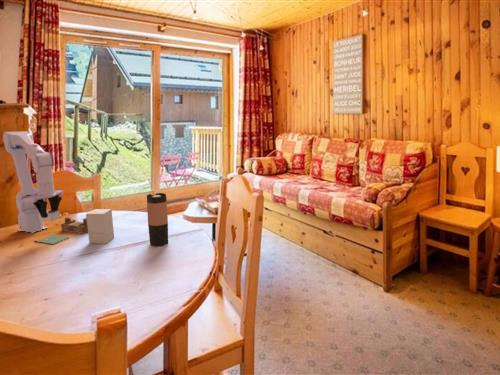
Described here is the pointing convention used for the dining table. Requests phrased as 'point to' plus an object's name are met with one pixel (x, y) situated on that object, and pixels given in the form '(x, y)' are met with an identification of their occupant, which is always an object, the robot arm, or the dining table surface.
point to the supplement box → (100, 226)
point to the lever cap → (51, 215)
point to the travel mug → (157, 219)
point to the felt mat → (53, 239)
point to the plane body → (75, 225)
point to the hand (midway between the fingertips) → (49, 215)
